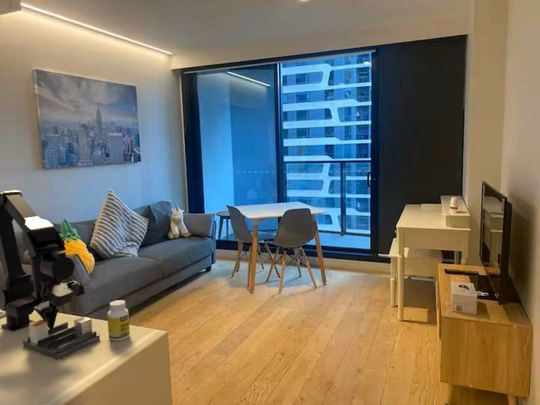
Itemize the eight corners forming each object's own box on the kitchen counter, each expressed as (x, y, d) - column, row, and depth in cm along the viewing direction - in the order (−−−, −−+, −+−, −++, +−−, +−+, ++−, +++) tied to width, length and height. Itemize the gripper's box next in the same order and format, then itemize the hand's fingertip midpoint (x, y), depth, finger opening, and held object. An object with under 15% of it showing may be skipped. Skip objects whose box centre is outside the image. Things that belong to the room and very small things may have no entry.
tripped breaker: (30, 341, 107) (28, 323, 106) (41, 336, 110) (40, 319, 109) (37, 344, 106) (35, 325, 105) (48, 339, 108) (47, 321, 107)
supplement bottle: (123, 342, 109) (120, 306, 108) (104, 340, 111) (102, 305, 109) (133, 333, 115) (131, 299, 113) (116, 331, 116) (113, 298, 115)
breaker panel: (23, 346, 108) (20, 324, 107) (65, 329, 118) (63, 308, 117) (57, 360, 100) (55, 336, 100) (99, 340, 111) (98, 318, 110)
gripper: (27, 289, 96) (34, 351, 98) (95, 266, 112) (100, 321, 114) (0, 282, 101) (8, 341, 104) (69, 262, 117) (75, 314, 120)
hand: (51, 329), depth 110 cm, fingers closed
